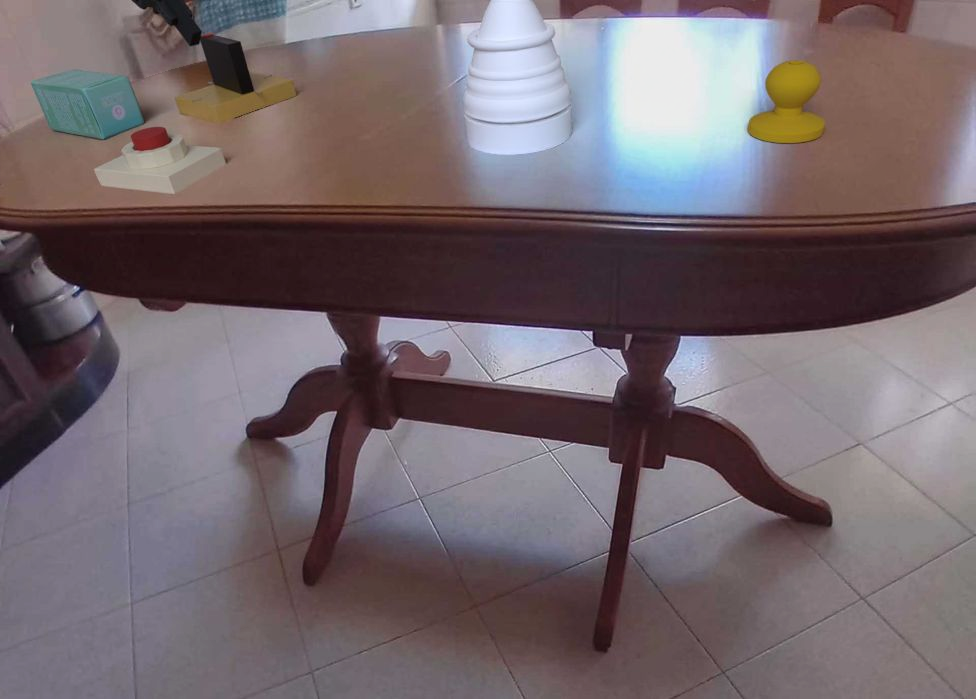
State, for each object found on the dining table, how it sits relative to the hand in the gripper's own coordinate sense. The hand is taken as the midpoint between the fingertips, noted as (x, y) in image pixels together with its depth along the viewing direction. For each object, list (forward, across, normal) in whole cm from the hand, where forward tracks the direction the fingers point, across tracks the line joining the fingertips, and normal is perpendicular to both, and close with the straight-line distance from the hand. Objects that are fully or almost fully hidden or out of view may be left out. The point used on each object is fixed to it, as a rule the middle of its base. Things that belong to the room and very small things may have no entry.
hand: (195, 38), depth 102 cm
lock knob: (+7, -3, -4) cm, 8 cm away
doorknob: (+62, -25, +48) cm, 82 cm away
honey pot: (+43, -10, +28) cm, 53 cm away
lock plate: (+8, -3, -6) cm, 11 cm away
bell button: (+18, +20, +9) cm, 28 cm away
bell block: (+20, +20, +6) cm, 29 cm away
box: (0, +14, -14) cm, 20 cm away
